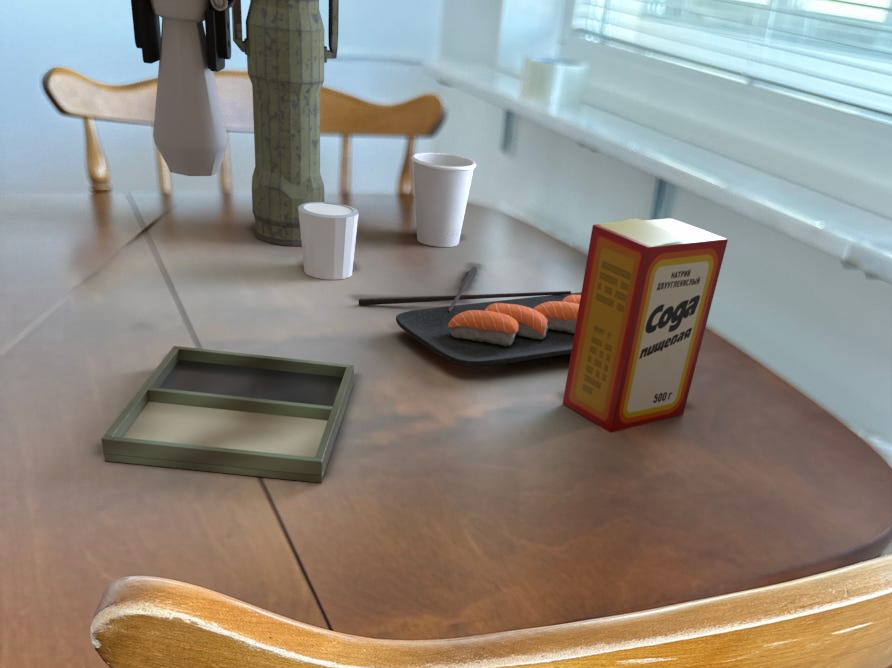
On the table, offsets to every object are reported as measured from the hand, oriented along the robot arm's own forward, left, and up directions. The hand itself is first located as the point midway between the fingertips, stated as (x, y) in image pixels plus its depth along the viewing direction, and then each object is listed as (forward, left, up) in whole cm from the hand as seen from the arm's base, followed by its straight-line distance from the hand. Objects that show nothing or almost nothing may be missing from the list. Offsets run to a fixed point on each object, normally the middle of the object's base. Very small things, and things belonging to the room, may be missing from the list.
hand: (184, 62), depth 72 cm
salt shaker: (0, 0, -8) cm, 8 cm away
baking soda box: (+39, -3, -23) cm, 46 cm away
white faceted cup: (+7, +28, -23) cm, 37 cm away
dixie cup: (+19, +47, -23) cm, 56 cm away
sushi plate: (+27, +19, -23) cm, 41 cm away
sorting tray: (+6, -13, -23) cm, 27 cm away
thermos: (0, +41, -23) cm, 47 cm away
